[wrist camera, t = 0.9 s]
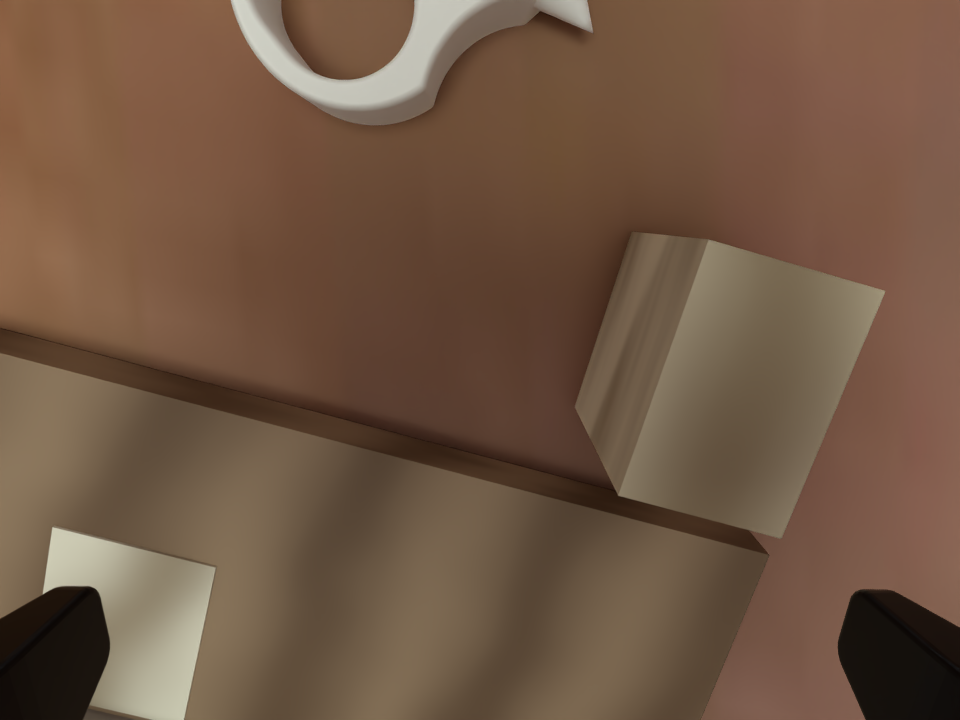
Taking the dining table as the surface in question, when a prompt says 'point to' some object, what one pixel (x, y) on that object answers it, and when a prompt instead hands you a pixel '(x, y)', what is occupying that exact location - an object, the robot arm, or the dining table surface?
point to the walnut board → (344, 561)
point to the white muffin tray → (413, 71)
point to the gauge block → (719, 377)
